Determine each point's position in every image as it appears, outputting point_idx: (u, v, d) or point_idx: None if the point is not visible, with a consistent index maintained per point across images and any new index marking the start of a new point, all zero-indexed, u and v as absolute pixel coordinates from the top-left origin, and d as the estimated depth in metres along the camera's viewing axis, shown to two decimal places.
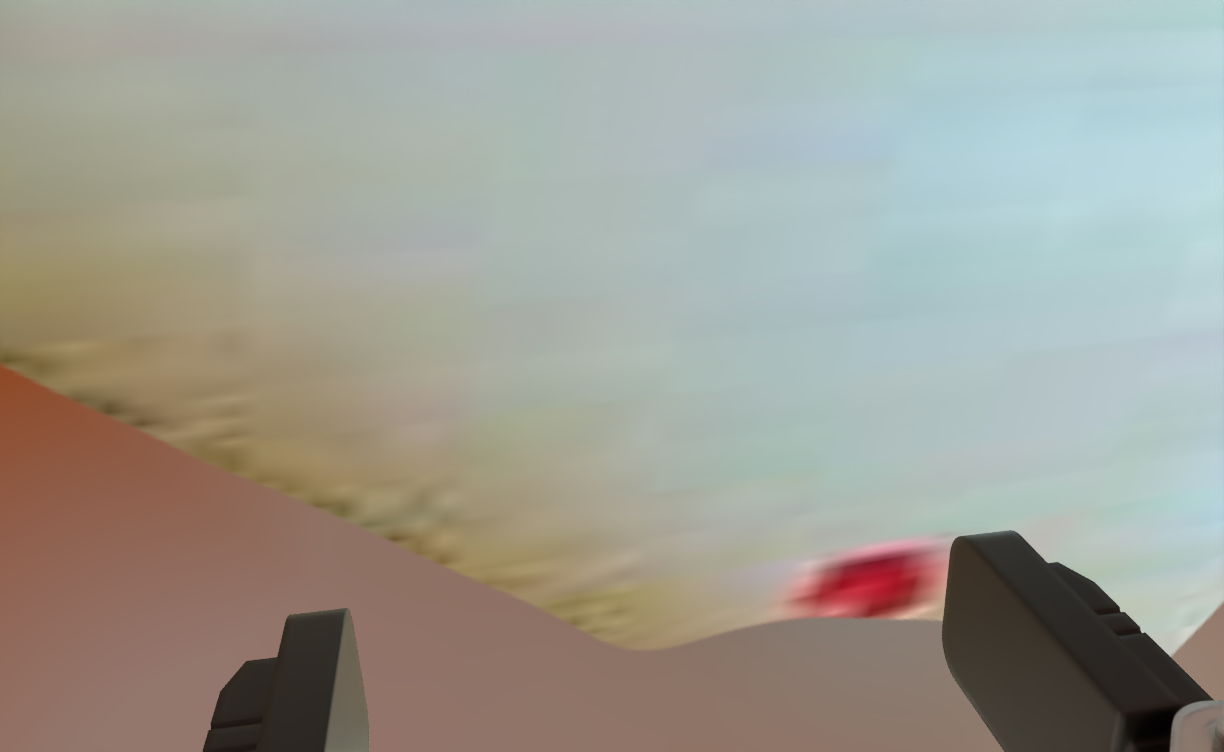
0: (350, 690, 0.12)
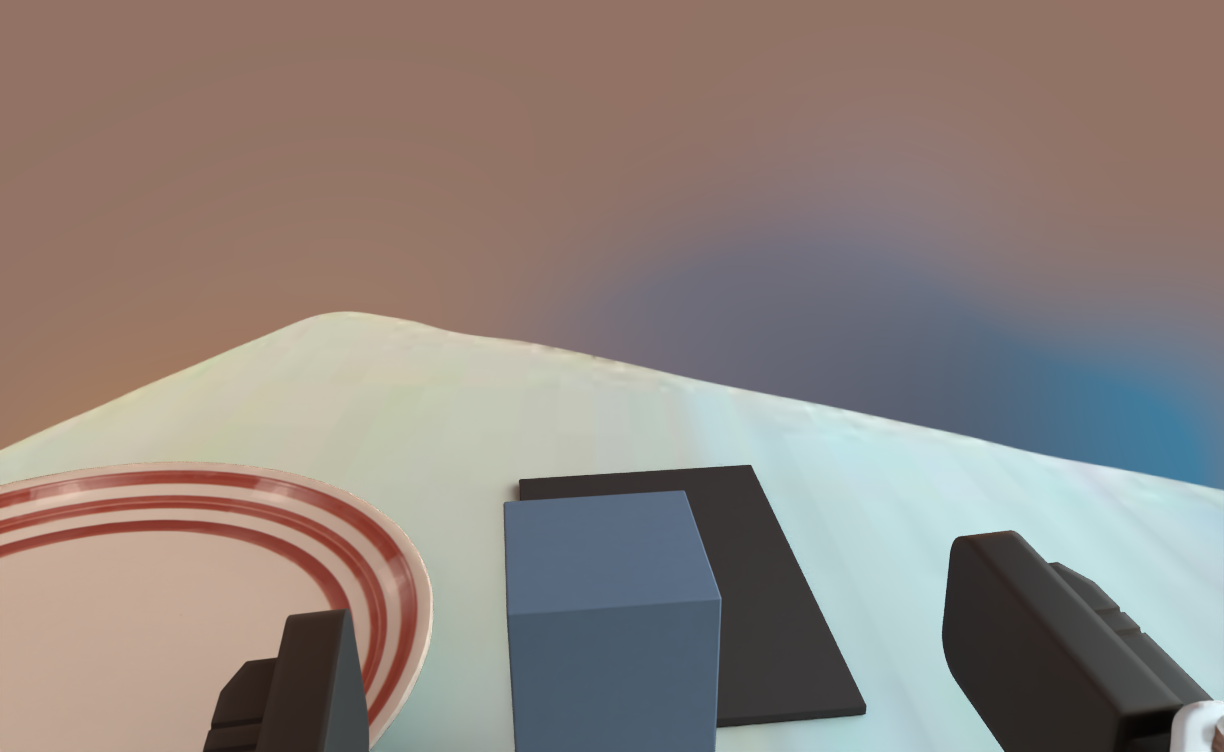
0: (350, 690, 0.12)
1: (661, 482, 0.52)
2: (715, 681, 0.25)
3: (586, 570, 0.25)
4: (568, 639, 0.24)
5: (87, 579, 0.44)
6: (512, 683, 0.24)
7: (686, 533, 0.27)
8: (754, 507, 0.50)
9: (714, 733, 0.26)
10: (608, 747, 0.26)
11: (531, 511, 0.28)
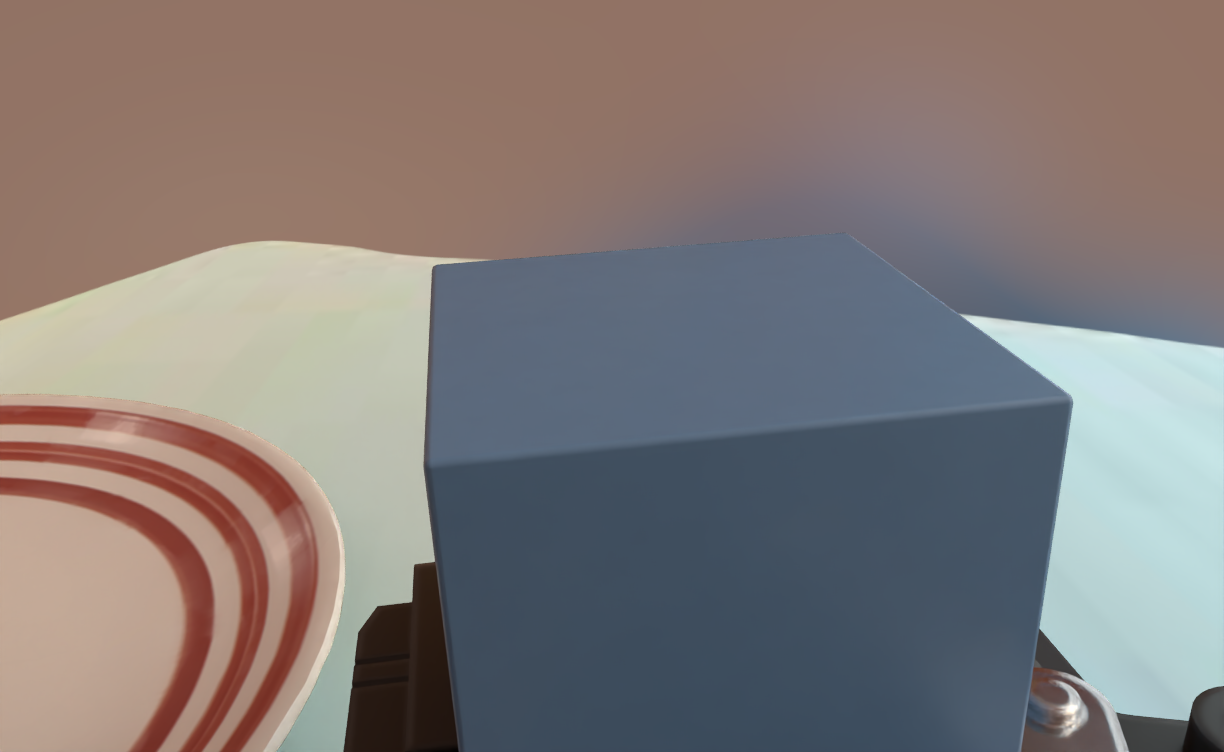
0: None
1: None
2: (1029, 656, 0.09)
3: (654, 359, 0.09)
4: (618, 542, 0.08)
5: None
6: (454, 687, 0.08)
7: (890, 288, 0.10)
8: None
9: None
10: None
11: (497, 274, 0.11)
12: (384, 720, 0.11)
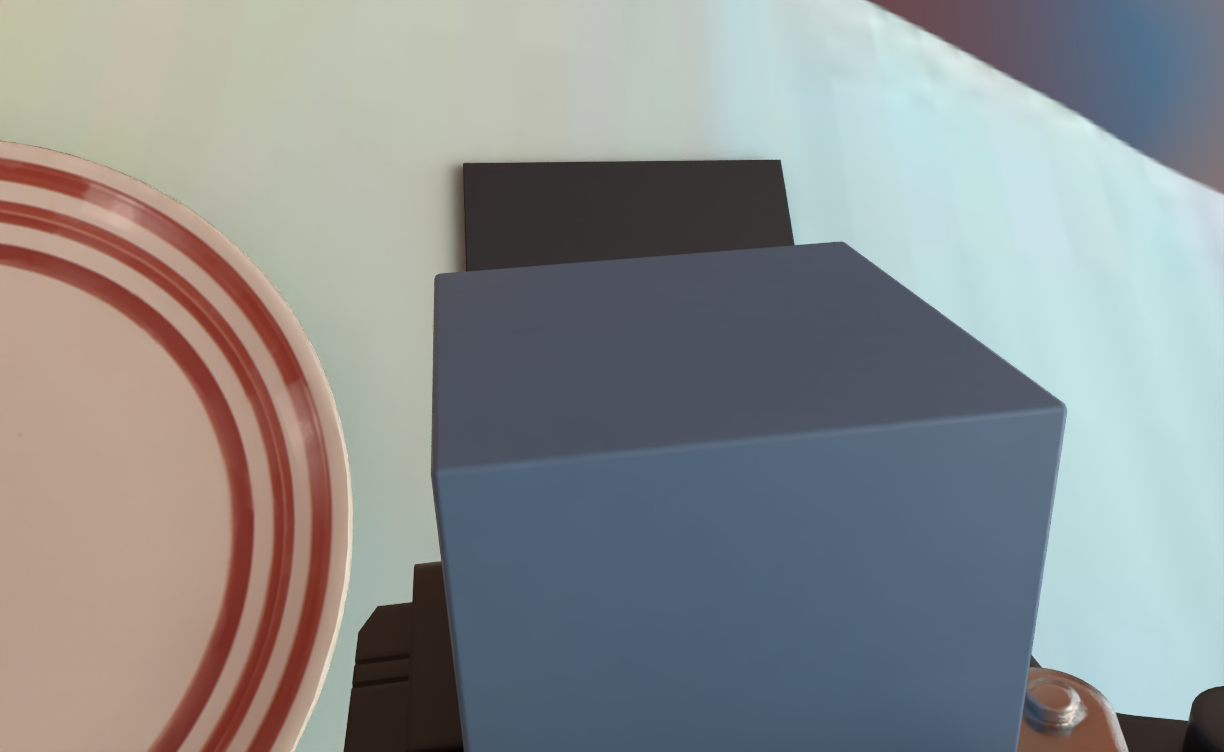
0: None
1: (657, 189, 0.38)
2: (1025, 659, 0.09)
3: (656, 369, 0.09)
4: (622, 548, 0.08)
5: None
6: (461, 691, 0.08)
7: (888, 297, 0.11)
8: None
9: None
10: None
11: (499, 283, 0.12)
12: (384, 720, 0.11)
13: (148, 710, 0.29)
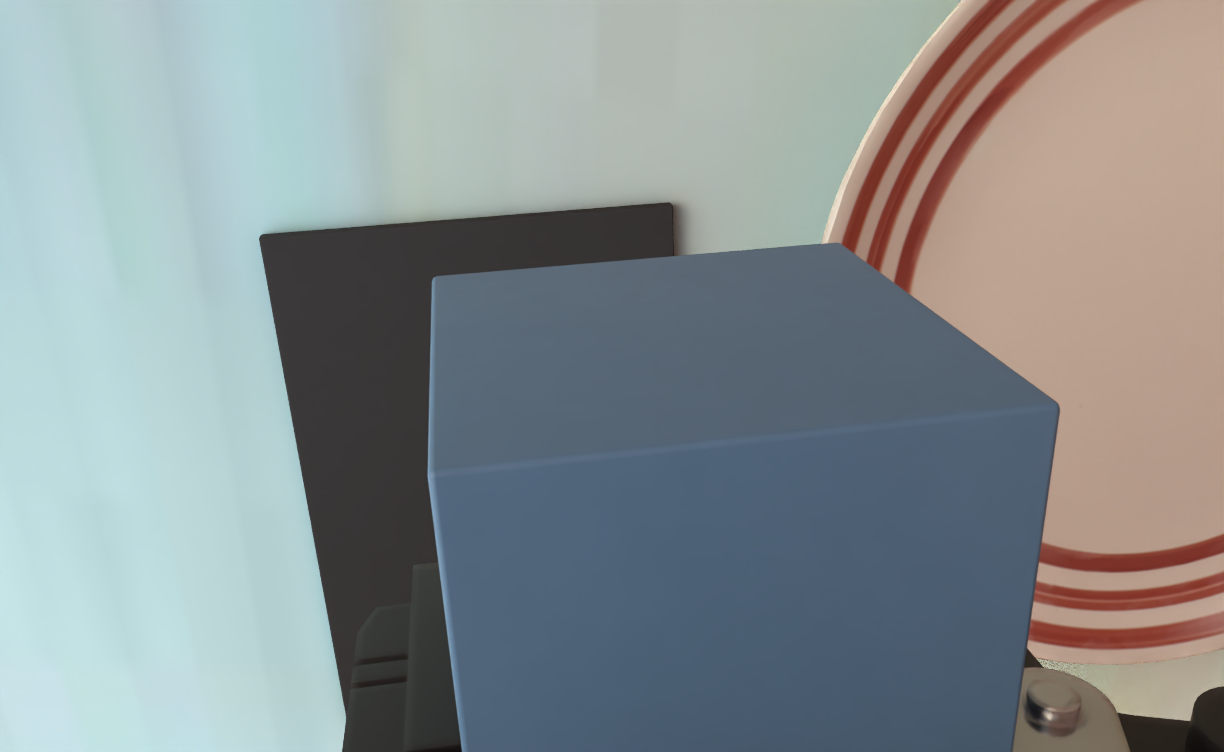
0: None
1: None
2: (1020, 657, 0.09)
3: (652, 369, 0.09)
4: (617, 549, 0.08)
5: (1190, 468, 0.37)
6: (458, 691, 0.08)
7: (882, 297, 0.11)
8: (356, 632, 0.35)
9: None
10: None
11: (496, 286, 0.12)
12: (382, 720, 0.11)
13: (981, 167, 0.31)
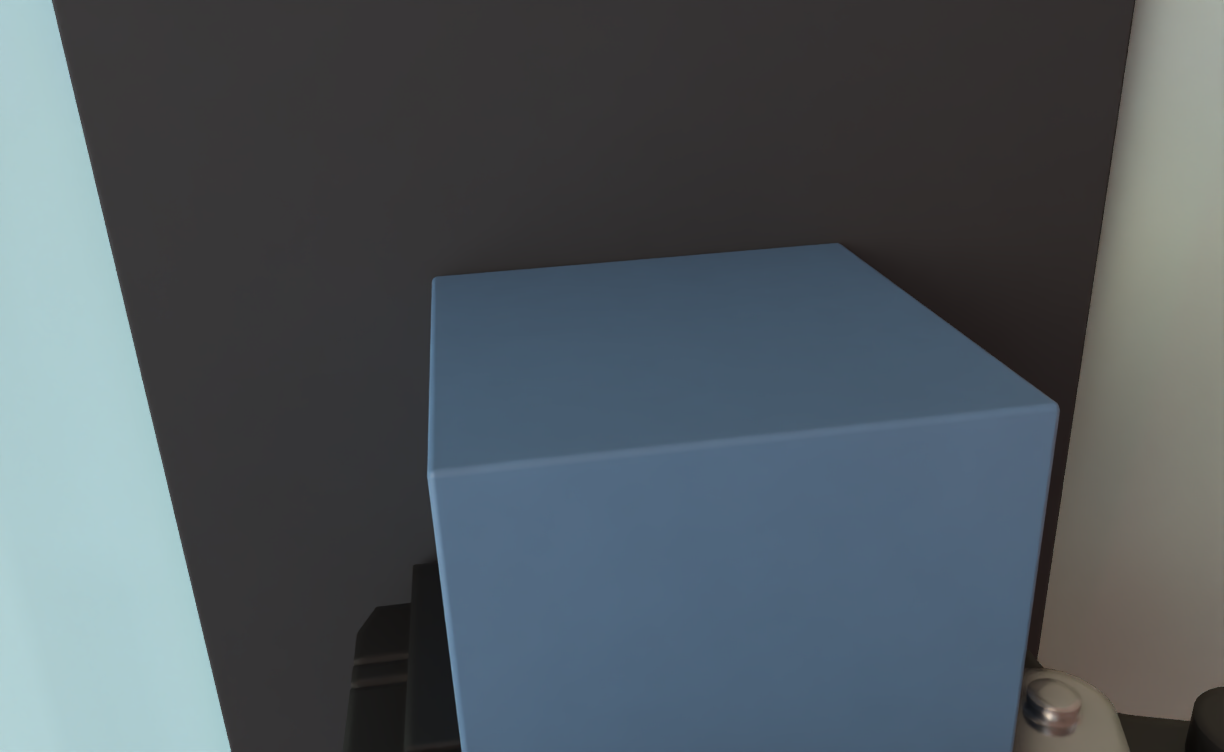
0: None
1: None
2: (1018, 658, 0.09)
3: (651, 370, 0.09)
4: (617, 550, 0.08)
5: None
6: (457, 692, 0.08)
7: (881, 297, 0.11)
8: None
9: None
10: None
11: (496, 286, 0.12)
12: (382, 721, 0.11)
13: None
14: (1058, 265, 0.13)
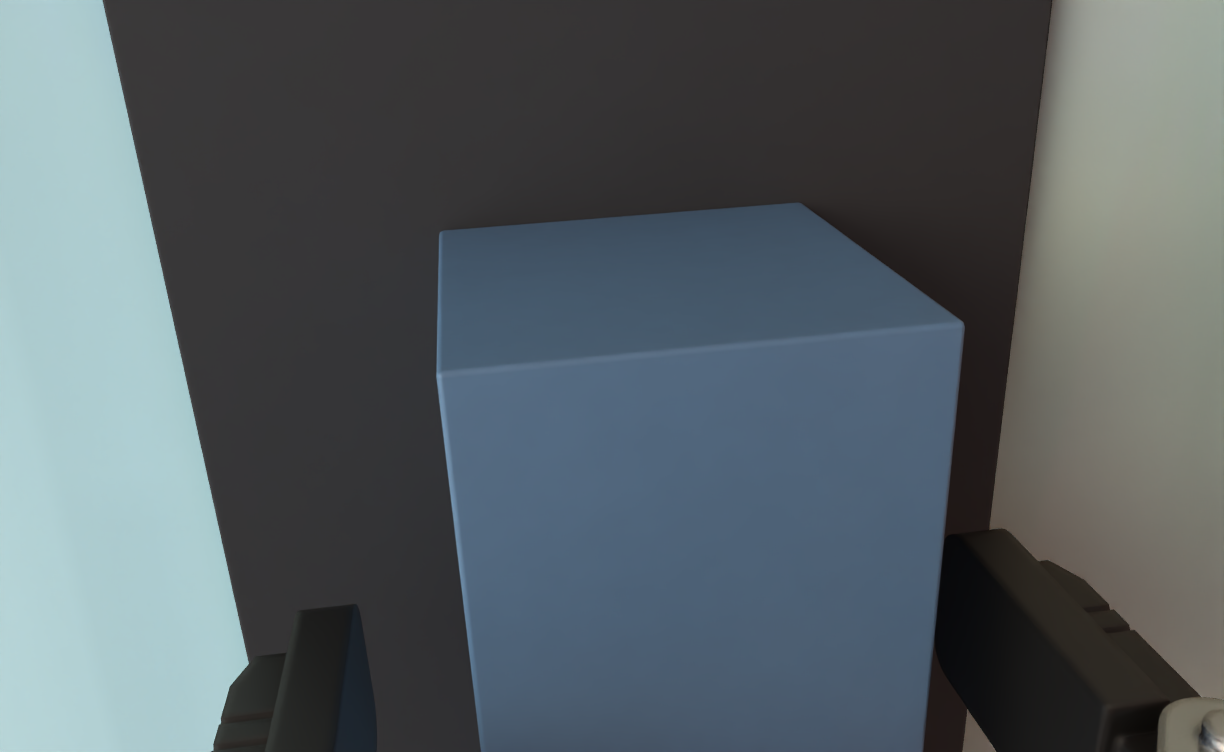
0: (359, 685, 0.12)
1: None
2: (939, 544, 0.11)
3: (626, 300, 0.11)
4: (593, 442, 0.10)
5: None
6: (462, 563, 0.10)
7: (830, 244, 0.12)
8: None
9: (929, 671, 0.11)
10: (693, 715, 0.11)
11: (495, 237, 0.13)
12: None
13: None
14: (991, 227, 0.15)
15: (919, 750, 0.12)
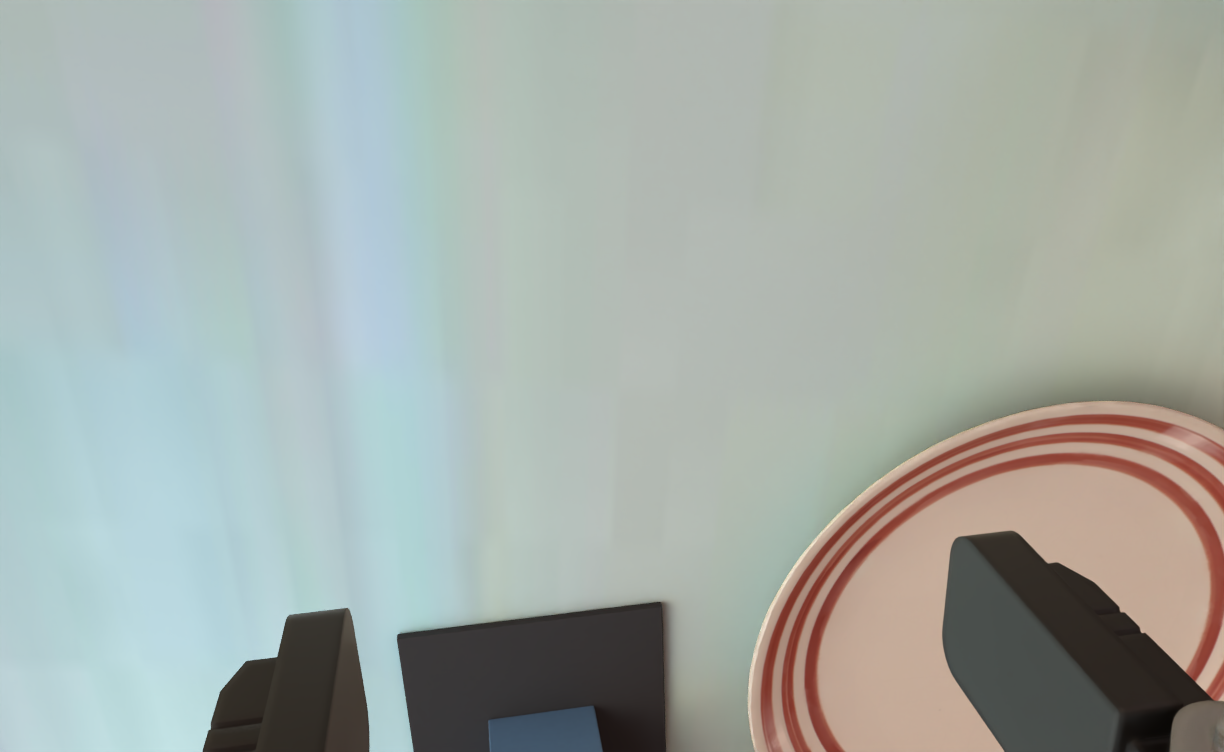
0: (350, 690, 0.12)
1: None
2: None
3: None
4: None
5: None
6: None
7: (592, 738, 0.47)
8: None
9: None
10: None
11: (504, 726, 0.48)
12: None
13: (863, 580, 0.48)
14: (653, 706, 0.49)
15: None
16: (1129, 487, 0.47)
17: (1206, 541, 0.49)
